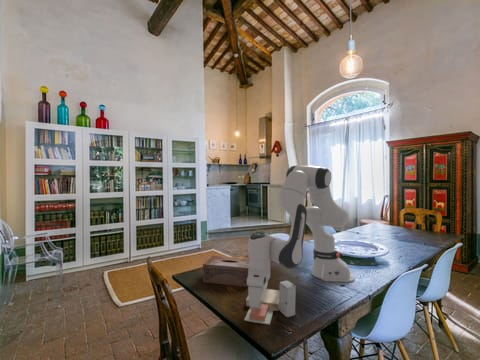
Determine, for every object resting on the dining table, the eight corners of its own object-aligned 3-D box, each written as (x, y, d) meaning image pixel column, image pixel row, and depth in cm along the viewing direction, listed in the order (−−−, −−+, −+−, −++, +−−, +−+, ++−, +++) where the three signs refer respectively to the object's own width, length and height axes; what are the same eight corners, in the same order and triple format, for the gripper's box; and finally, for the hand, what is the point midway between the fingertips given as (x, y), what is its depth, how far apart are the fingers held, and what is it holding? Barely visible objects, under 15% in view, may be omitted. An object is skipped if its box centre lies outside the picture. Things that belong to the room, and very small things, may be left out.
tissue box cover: (203, 282, 128) (202, 264, 127) (212, 272, 142) (212, 255, 141) (249, 287, 121) (249, 268, 121) (254, 276, 135) (254, 258, 135)
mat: (273, 310, 99) (273, 309, 99) (269, 324, 90) (269, 323, 90) (250, 307, 102) (250, 306, 102) (244, 320, 93) (244, 319, 93)
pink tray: (254, 307, 101) (254, 302, 101) (268, 309, 100) (268, 304, 100) (249, 319, 93) (249, 314, 93) (264, 321, 91) (264, 316, 91)
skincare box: (278, 310, 100) (278, 281, 100) (287, 307, 101) (287, 279, 101) (287, 318, 94) (286, 287, 94) (296, 315, 96) (296, 285, 96)
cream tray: (281, 297, 110) (281, 290, 110) (278, 311, 99) (278, 303, 99) (252, 293, 114) (252, 287, 114) (246, 306, 103) (245, 299, 103)
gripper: (257, 263, 107) (257, 293, 107) (245, 282, 87) (246, 319, 87) (270, 264, 105) (271, 295, 105) (262, 284, 85) (262, 322, 85)
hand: (259, 306), depth 96 cm, fingers closed
